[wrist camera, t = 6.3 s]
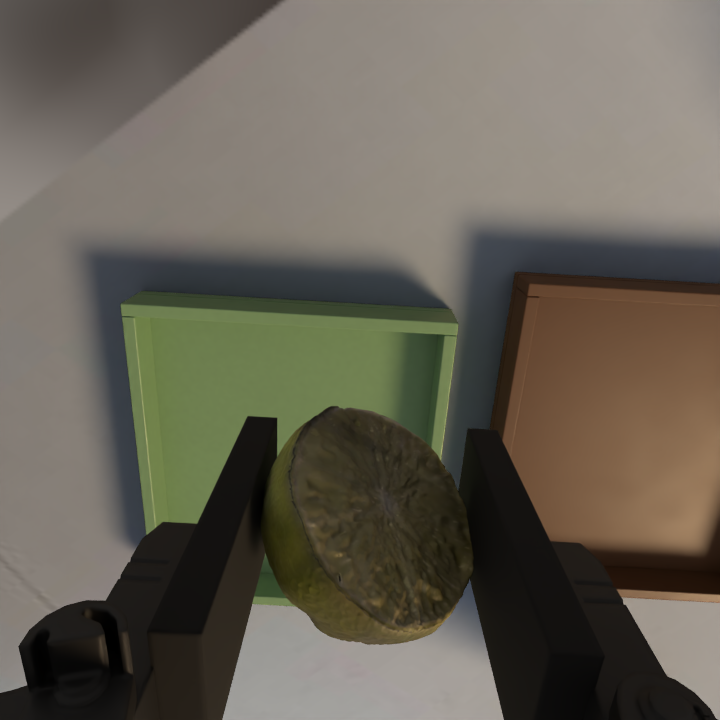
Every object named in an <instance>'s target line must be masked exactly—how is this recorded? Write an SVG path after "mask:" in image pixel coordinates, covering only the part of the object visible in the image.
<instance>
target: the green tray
mask: <svg viewBox="0 0 720 720" xmlns="http://www.w3.org/2000/svg"><path fill="white" fill-rule="evenodd" d="M120 306H121V315H122V323H123V332H124V341H125V350H126V358H127V367H128V376H129V385H130V394H131V403H132V412H133V421H134V430H135V439H136V447H137V456H138V465H139V474H140V483H141V492H142V501H143V510H144V519H145V528H146V535H147V534H149V533H150V532H151V531H152V530H153V529H155V528H156V527H157V526H158V525H160V524H161V523H162V522H177V523H195V524H197V523H198V521H199V519H200V516H201V514H202V512H203V510H204V508H205V506H206V504H207V501H208V499H209V497H210V495H211V493H212V491H213V489H214V487H215V484H216V482H217V480H218V478H219V476H220V474H221V472H222V469H223V467H224V465H225V463H226V461H227V459H228V457H229V455H230V452H231V450H232V448H233V446H234V444H235V442H236V440H237V437H238V435H239V433H240V431H241V429H242V427H243V425H244V423H245V420H246V418H247V416H256V417H274V418H277V457H278V455H279V453H280V451H281V450H282V448H283V446H284V445H285V443H287V441H288V440H289V438H290V437H291V436H292V434H293V433H294V432H295V431H296V430H297V429H298V428H299V427H301V426H302V425H303V424H304V423H306V422H307V421H309V420H311V419H312V418H313V417H314V416H316V415H318V414H319V413H321V412H322V411H323V410H324V409H326V408H328V407H330V406H338V407H339V408H343V409H345V408H350V407H351V408H355V409H362V410H369V411H373V412H376V413H378V414H380V415H383V416H386V417H388V418H390V419H392V420H394V421H396V422H398V423H399V424H401V425H402V426H403V427H405V428H407V429H408V430H409V431H411V432H412V433H414V434H415V435H417V436H419V437H420V438H421V439H423V440H424V441H425V442H426V443H427V444H428V445H429V446H430V447H431V448H432V449H433V450H434V451H435V453H437V455H438V457H439V458H440V460H441V457H442V449H443V442H444V434H445V426H446V418H447V410H448V402H449V395H450V387H451V379H452V371H453V363H454V356H455V348H456V340H457V336H456V335H457V333H458V325H459V324H458V322H457V320H456V318H455V316H454V314H453V312H452V310H451V309H443V308H426V307H409V306H392V305H374V304H357V303H340V302H323V301H306V300H288V299H271V298H254V297H237V296H220V295H203V294H185V293H168V292H151V291H141V292H139V293H137V294H136V295H134V296H132V297H131V298H129V299H127V300H126V301H124V302H122V303H121V304H120ZM252 604H261V605H279V606H295V605H293V604H292V603H291V602H290V601H289V600H288V599H287V598H286V596H285V595H284V594H283V592H282V590H281V589H280V587H279V585H278V583H277V581H276V578H275V576H274V574H273V571H272V569H271V567H270V566H269V562H268V559H267V556H266V553H265V557H264V560H263V564H262V568H261V572H260V576H259V580H258V584H257V587H256V591H255V595H254V599H253V603H252Z"/></svg>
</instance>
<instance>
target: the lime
mask: <svg viewBox="0 0 720 720" xmlns="http://www.w3.org/2000/svg"><path fill="white" fill-rule="evenodd" d="M261 534H262V540H263V544H264V549H265V553H266V556H267V559H268V562H269V566H270V567H271V569H272V571H273V574H274V576H275V578H276V581H277V583H278V585H279V587H280V589H281V590H282V592H283V594H284V595H285V596H286V598H287V599H288V600H289V601H290V602H291V603H292V604H293V605H295V606H296V607H298V608H299V609H301V610H302V611H303V612H305V613H306V614H307V615H308V616H309V617H310V619H311V620H312V622H313V623H314V625H315V626H316V627H317V628H318V629H319V630H320V631H321V632H323V633H325V634H326V635H328V636H330V637H333V638H337V639H340V640H345V641H349V642H350V641H354V642H362V643H364V644H374V645H375V644H379V645H382V644H398V643H404V642H408V641H413V640H417V639H420V638H422V637H425V636H427V635H430V634H432V633H433V632H435V631H436V630H437V628H438V627H440V626H441V624H442V623H443V622H444V621H445V620H446V619H447V618H448V617H449V616H450V615H451V613H452V612H453V610H454V609H455V606H456V604H457V603H458V602H459V599H460V598H461V597H462V595H463V592H464V589H465V588H466V586H467V584H468V582H469V579H470V577H471V576H472V573H473V560H474V557H473V550H472V544H471V541H470V533H469V525H468V520H467V511H466V507H465V505H464V503H463V500H462V498H461V497H460V495H459V491H458V489H457V488H456V486H455V482H454V480H453V477H452V475H451V474H450V473H449V472H447V471H446V469H445V466H444V465H443V464H442V463H441V460H440V458H439V457H438V455H437V453H435V451H434V450H433V449H432V448H431V447H430V446H429V445H428V444H427V443H426V442H425V441H424V440H423V439H421V438H420V437H419V436H417V435H415V434H414V433H412V432H411V431H409V430H408V429H407V428H405V427H403V426H402V425H401V424H399V423H398V422H396V421H394V420H392V419H390V418H388V417H386V416H383V415H380V414H378V413H376V412H373V411H369V410H362V409H355V408H351V407H350V408H345V409H343V408H339V407H338V406H330V407H328V408H326V409H324V410H323V411H322V412H321V413H319V414H318V415H316V416H314V417H313V418H312V419H311V420H309V421H307V422H306V423H304V424H303V425H302V426H301V427H299V428H298V429H297V430H296V431H295V432H294V433H293V434H292V436H291V437H290V438H289V440H288V441H287V443H285V445H284V446H283V448H282V450H281V451H280V453H279V455H278V457H277V459H276V460H275V462H274V464H273V467H272V468H271V470H270V473H269V476H268V478H267V481H266V484H265V490H264V497H263V507H262V514H261Z"/></svg>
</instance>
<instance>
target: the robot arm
mask: <svg viewBox="0 0 720 720" xmlns="http://www.w3.org/2000/svg"><path fill="white" fill-rule="evenodd" d="M276 459H277V418H274V417H256V416H247V418H246V420H245V423H244V425H243V427H242V429H241V431H240V433H239V435H238V437H237V440H236V442H235V444H234V446H233V448H232V450H231V452H230V455H229V457H228V459H227V461H226V463H225V465H224V467H223V469H222V472H221V474H220V476H219V478H218V480H217V482H216V484H215V487H214V489H213V491H212V493H211V495H210V497H209V499H208V501H207V504H206V506H205V508H204V510H203V512H202V514H201V516H200V519H199V521H198V523H197V524H195V523H177V522H162V523H161V524H160V525H158V526H157V527H156V528H155V529H153V530H152V531H151V532H150V533H149V534H147V535H146V536H145V537H144V538H143V539H142V540H141V542H140V544H139V545H138V547H137V549H136V550H135V552H134V554H133V555H132V557H131V561H130V562H128V564H127V565H126V567H125V569H124V571H123V572H122V574H121V578H120V579H118V581H117V582H116V584H115V586H114V587H113V589H112V591H111V592H110V594H109V596H108V597H107V599H106V601H91V600H86V601H82V602H78V603H74V604H70V605H66V606H64V607H62V608H60V609H58V610H56V611H54V612H52V613H50V614H49V615H47V616H45V617H44V618H43V619H42V620H41V621H39V622H38V623H37V624H36V625H35V626H33V627H32V628H31V629H30V630H29V631H28V633H27V634H26V636H25V637H24V639H23V640H22V642H21V643H20V645H19V646H18V647H19V651H20V655H21V659H22V664H23V668H24V672H25V676H26V681H27V686H24V687H21V688H18V689H15V690H11V691H7V692H3V693H0V720H222V718H223V714H224V711H225V707H226V703H227V699H228V695H229V691H230V687H231V684H232V680H233V676H234V672H235V668H236V664H237V661H238V657H239V653H240V649H241V645H242V641H243V637H244V634H245V630H246V626H247V622H248V618H249V614H250V610H251V607H252V603H253V599H254V595H255V591H256V587H257V584H258V580H259V576H260V572H261V568H262V564H263V560H264V557H265V549H264V544H263V540H262V534H261V514H262V507H263V497H264V490H265V484H266V481H267V478H268V476H269V473H270V470H271V468H272V467H273V464H274V462H275V460H276ZM459 495H460V497H461V498H462V500H463V503H464V505H465V507H466V511H467V520H468V525H469V533H470V541H471V544H472V550H473V557H474V560H473V573H472V576H471V577H470V581H471V585H472V589H473V593H474V597H475V602H476V606H477V610H478V614H479V618H480V622H481V626H482V631H483V635H484V639H485V643H486V647H487V651H488V655H489V659H490V664H491V668H492V672H493V676H494V680H495V684H496V688H497V692H498V697H499V701H500V705H501V709H502V713H503V717H504V720H718V719H716V718H715V716H714V714H713V713H712V711H711V709H710V708H709V707H708V706H707V705H706V704H705V703H704V702H703V701H702V700H701V699H700V698H699V697H698V696H697V695H696V694H695V693H694V692H693V691H691V690H690V689H688V688H687V687H685V686H684V685H682V684H681V683H679V682H678V681H676V680H675V679H672V678H669V677H667V675H666V674H665V672H664V670H663V669H662V667H661V665H660V663H659V662H658V660H657V658H656V657H655V655H654V653H653V651H652V650H651V648H650V646H649V644H648V643H647V641H646V639H645V638H644V636H643V634H642V632H641V631H640V629H639V627H638V625H637V624H636V622H635V620H634V618H633V617H632V615H631V613H630V612H629V610H628V608H627V606H626V605H623V599H622V598H621V596H620V594H619V593H618V591H617V589H616V587H613V582H612V580H611V579H610V577H609V575H608V573H607V572H606V570H605V568H604V567H603V565H602V563H601V561H600V560H598V559H597V558H596V557H595V556H594V555H593V554H592V553H591V552H590V551H588V550H587V549H586V548H585V547H584V546H583V545H582V544H581V543H573V542H555V541H550V539H549V537H548V535H547V533H546V531H545V529H544V527H543V525H542V523H541V521H540V518H539V516H538V514H537V512H536V510H535V508H534V506H533V504H532V502H531V500H530V497H529V495H528V493H527V491H526V489H525V487H524V485H523V483H522V481H521V479H520V476H519V474H518V472H517V470H516V468H515V466H514V464H513V462H512V460H511V458H510V455H509V453H508V451H507V449H506V447H505V445H504V443H503V441H502V439H501V437H500V434H499V432H498V430H489V429H471V428H468V430H467V437H466V444H465V451H464V458H463V465H462V472H461V479H460V486H459Z"/></svg>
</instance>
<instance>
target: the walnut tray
mask: <svg viewBox="0 0 720 720" xmlns="http://www.w3.org/2000/svg"><path fill="white" fill-rule="evenodd" d="M490 430H498V432H499V434H500V437H501V439H502V441H503V443H504V445H505V447H506V449H507V451H508V453H509V455H510V458H511V460H512V462H513V464H514V466H515V468H516V470H517V472H518V474H519V476H520V479H521V481H522V483H523V485H524V487H525V489H526V491H527V493H528V495H529V497H530V500H531V502H532V504H533V506H534V508H535V510H536V512H537V514H538V516H539V518H540V521H541V523H542V525H543V527H544V529H545V531H546V533H547V535H548V537H549V539H550V541H555V542H573V543H581V544H582V545H583V546H584V547H585V548H586V549H587V550H588V551H590V552H591V553H592V554H593V555H594V556H595V557H596V558H597V559H598V560H600V561H601V563H602V565H603V567H604V568H605V570H606V572H607V573H608V575H609V577H610V579H611V580H612V582H613V587H616V589H617V591H618V593H619V594H620V596H621V597H627V598H644V599H662V600H680V601H697V602H715V603H720V284H715V283H698V282H681V281H664V280H647V279H630V278H613V277H596V276H579V275H561V274H544V273H527V272H515V276H514V282H513V288H512V295H511V301H510V307H509V313H508V319H507V325H506V331H505V338H504V344H503V350H502V356H501V362H500V368H499V375H498V381H497V387H496V393H495V399H494V405H493V411H492V418H491V424H490Z"/></svg>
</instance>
